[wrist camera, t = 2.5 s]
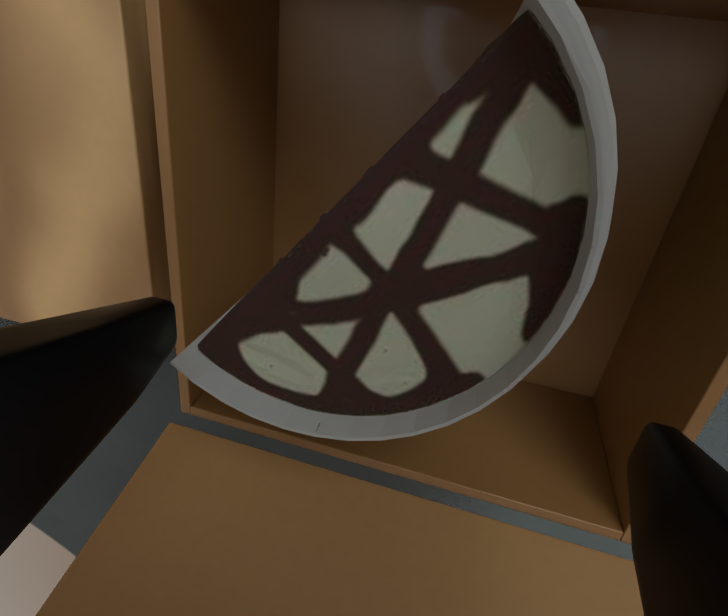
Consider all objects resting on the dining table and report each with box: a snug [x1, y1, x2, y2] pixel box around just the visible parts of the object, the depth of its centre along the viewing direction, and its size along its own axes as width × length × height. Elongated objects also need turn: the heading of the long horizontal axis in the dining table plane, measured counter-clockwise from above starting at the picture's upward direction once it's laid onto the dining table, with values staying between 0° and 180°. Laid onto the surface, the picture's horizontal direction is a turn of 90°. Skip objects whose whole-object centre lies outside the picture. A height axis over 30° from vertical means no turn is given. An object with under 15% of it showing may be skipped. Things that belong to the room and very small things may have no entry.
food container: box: [170, 0, 618, 441], centre depth 15 cm, size 12×6×10 cm, turn 136°
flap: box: [36, 422, 644, 616], centre depth 13 cm, size 7×16×1 cm
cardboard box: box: [145, 0, 728, 544], centre depth 16 cm, size 15×16×7 cm
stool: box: [0, 0, 176, 350], centre depth 20 cm, size 13×15×5 cm
